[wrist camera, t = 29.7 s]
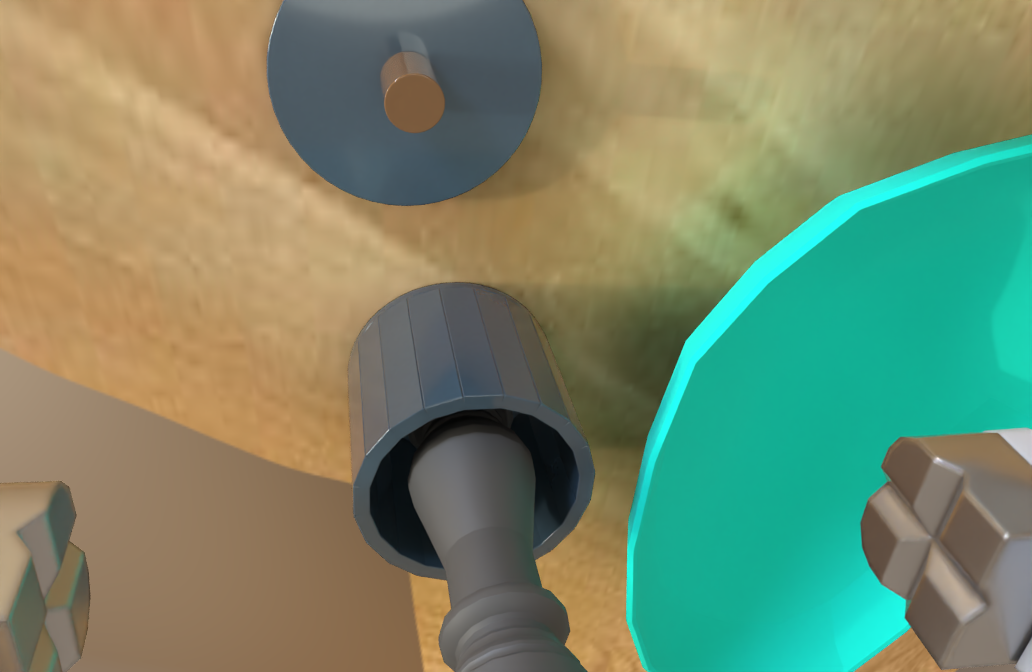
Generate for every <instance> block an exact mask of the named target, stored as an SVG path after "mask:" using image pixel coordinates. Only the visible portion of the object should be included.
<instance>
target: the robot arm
mask: <svg viewBox="0 0 1032 672" xmlns="http://www.w3.org/2000/svg"><path fill="white" fill-rule="evenodd" d="M881 468H882V471H883V473H884V475H885V477H886V480H887V482H886V483H885V484H884V485H883V486H882V487H881V488H879V489H878V490H877V491H876V492H875V493H874V494H873V495H872V496H870V497H869V498H868V501H867V504H866V507H865V510H864V513H863V516H862V519H861V522H860V526H861V540H862V549H863V551H864V554H865V557H866V559H867V562H868V565H869V567H870V568H871V570H872V571H873V573H874V574H875V576H876V577H877V579H878V580H879V582H880V583H881V585H883V586H884V587H886V588H888V589H889V590H891V591H893V592H894V593H896V594H897V595H899V596H901V597H902V598H904V599H905V600H906V606H905V619H906V621H907V622H908V623H909V625H910V626H911V628H912V629H913V630H914V632H915V633H916V635H917V636H918V638H919V639H920V640H921V642H922V643H923V645H924V646H925V648H926V649H927V650H928V652H929V653H930V655H931V656H932V657H933V659H934V660H935V662H936V663H937V665H938V666H939V667H940V669H941V670H946V669H958V668H970V667H981V666H993V665H1005V664H1016V666H1015V668H1016V669H1017V670H1018V671H1020V672H1032V429H1029V428H1014V429H1001V430H988V431H984V432H972V433H955V434H939V435H922V436H906V437H899V438H898V439H897V440H896V441H895V442H894V443H893V444H892V445H891V446H890V447H889V448H888V450H887V453H886V455H885V458H884V460H883V462H882V465H881ZM75 519H76V511H75V507H74V504H73V500H72V496H71V492H70V488H69V486H67V485H66V484H65V483H63V482H62V481H47V482H15V483H0V672H67V671H68V670H69V669H70V668H71V667H72V666H73V665H74V664H75V663H76V662H77V661H78V660H79V659H80V658H81V656H82V651H83V647H84V643H85V639H86V635H87V630H88V619H89V607H90V585H89V572H88V567H87V562H86V557H85V553H84V552H83V551H82V550H81V549H79V548H78V547H77V546H76V545H74V544H73V543H71V542H70V541H69V539H70V536H71V532H72V529H73V526H74V522H75Z"/></svg>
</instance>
